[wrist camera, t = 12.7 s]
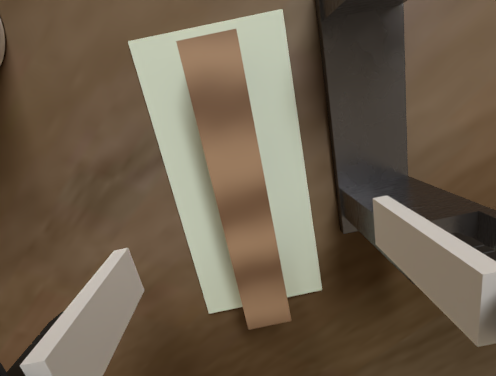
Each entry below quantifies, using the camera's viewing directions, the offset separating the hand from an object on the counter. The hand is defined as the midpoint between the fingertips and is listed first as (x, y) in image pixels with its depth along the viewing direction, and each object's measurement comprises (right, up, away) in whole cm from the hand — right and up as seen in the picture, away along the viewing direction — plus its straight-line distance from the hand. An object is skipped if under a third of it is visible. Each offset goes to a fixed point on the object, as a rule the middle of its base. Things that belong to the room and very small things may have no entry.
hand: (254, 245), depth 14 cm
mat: (-1, +4, +13) cm, 13 cm away
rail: (-1, +3, +12) cm, 13 cm away
